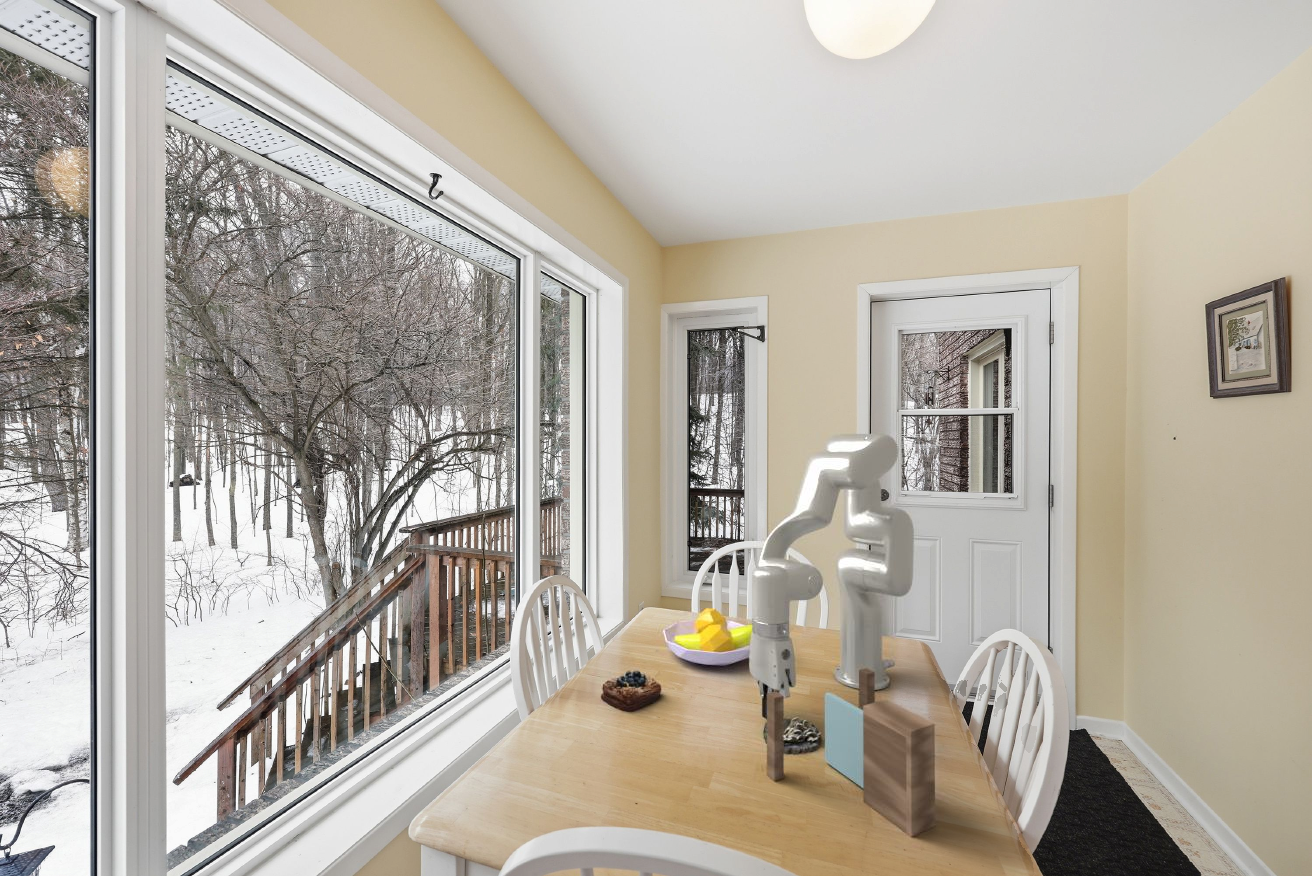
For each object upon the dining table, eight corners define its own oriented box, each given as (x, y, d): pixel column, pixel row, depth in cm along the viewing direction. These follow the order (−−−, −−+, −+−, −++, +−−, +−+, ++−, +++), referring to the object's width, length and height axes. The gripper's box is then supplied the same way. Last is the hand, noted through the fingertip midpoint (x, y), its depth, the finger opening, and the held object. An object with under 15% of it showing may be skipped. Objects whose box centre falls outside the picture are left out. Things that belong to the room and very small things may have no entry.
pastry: (594, 700, 121) (595, 674, 121) (632, 683, 130) (632, 658, 130) (629, 717, 114) (629, 689, 114) (667, 697, 123) (667, 671, 123)
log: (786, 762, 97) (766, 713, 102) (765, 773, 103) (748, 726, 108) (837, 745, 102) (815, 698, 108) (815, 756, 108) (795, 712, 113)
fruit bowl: (644, 662, 142) (644, 619, 142) (692, 632, 165) (692, 595, 165) (744, 687, 127) (744, 639, 127) (782, 651, 150) (782, 610, 150)
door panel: (829, 759, 97) (829, 692, 97) (875, 790, 88) (874, 716, 89) (824, 761, 97) (824, 693, 97) (869, 793, 88) (869, 718, 88)
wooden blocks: (866, 741, 104) (866, 661, 104) (974, 807, 85) (973, 710, 85) (766, 775, 93) (766, 686, 94) (864, 859, 74) (864, 747, 75)
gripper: (809, 636, 106) (810, 730, 106) (762, 614, 120) (762, 698, 120) (779, 642, 103) (779, 739, 103) (734, 619, 117) (734, 705, 116)
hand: (770, 717), depth 111 cm, fingers closed
